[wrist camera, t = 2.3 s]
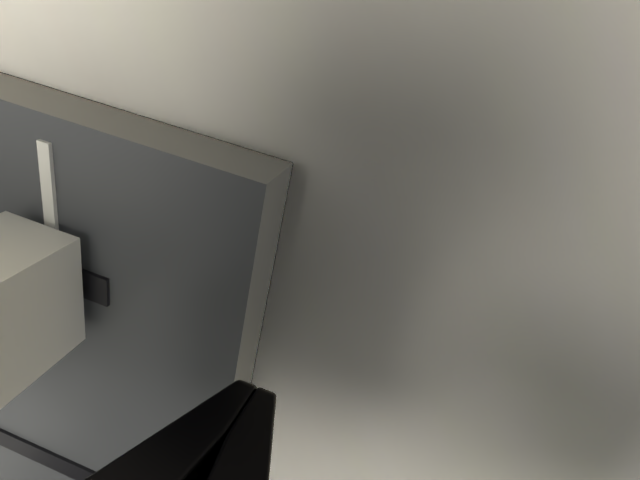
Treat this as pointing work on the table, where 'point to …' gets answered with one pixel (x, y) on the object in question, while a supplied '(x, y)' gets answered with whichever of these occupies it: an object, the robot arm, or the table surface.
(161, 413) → the console
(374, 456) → the table surface
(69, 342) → the fader
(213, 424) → the robot arm
